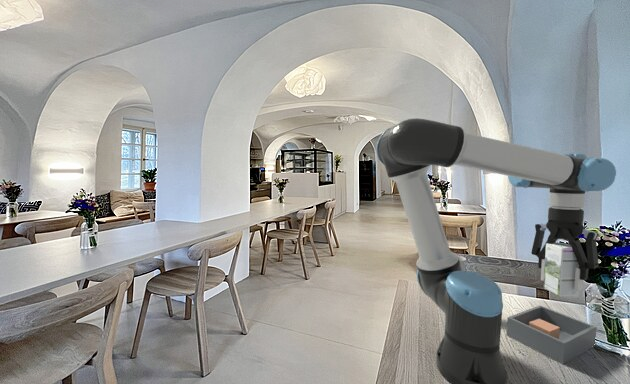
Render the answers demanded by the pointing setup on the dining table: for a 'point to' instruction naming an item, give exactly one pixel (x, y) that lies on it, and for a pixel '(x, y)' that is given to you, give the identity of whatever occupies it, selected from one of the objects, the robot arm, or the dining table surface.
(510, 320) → the tote
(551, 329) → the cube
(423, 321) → the dining table surface
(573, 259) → the syrup box
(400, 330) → the dining table surface
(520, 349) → the dining table surface
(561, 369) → the dining table surface
